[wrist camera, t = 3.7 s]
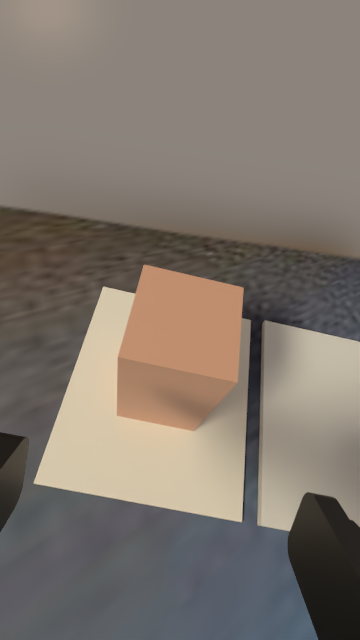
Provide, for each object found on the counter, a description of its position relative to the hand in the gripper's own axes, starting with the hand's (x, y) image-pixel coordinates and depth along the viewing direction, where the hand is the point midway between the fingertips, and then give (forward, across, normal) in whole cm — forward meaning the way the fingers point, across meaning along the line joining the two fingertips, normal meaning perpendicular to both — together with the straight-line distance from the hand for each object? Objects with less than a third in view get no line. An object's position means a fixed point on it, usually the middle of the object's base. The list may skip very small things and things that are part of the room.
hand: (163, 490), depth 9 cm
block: (+13, 0, +3) cm, 13 cm away
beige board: (+13, -13, +3) cm, 19 cm away
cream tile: (+13, 0, +3) cm, 13 cm away
